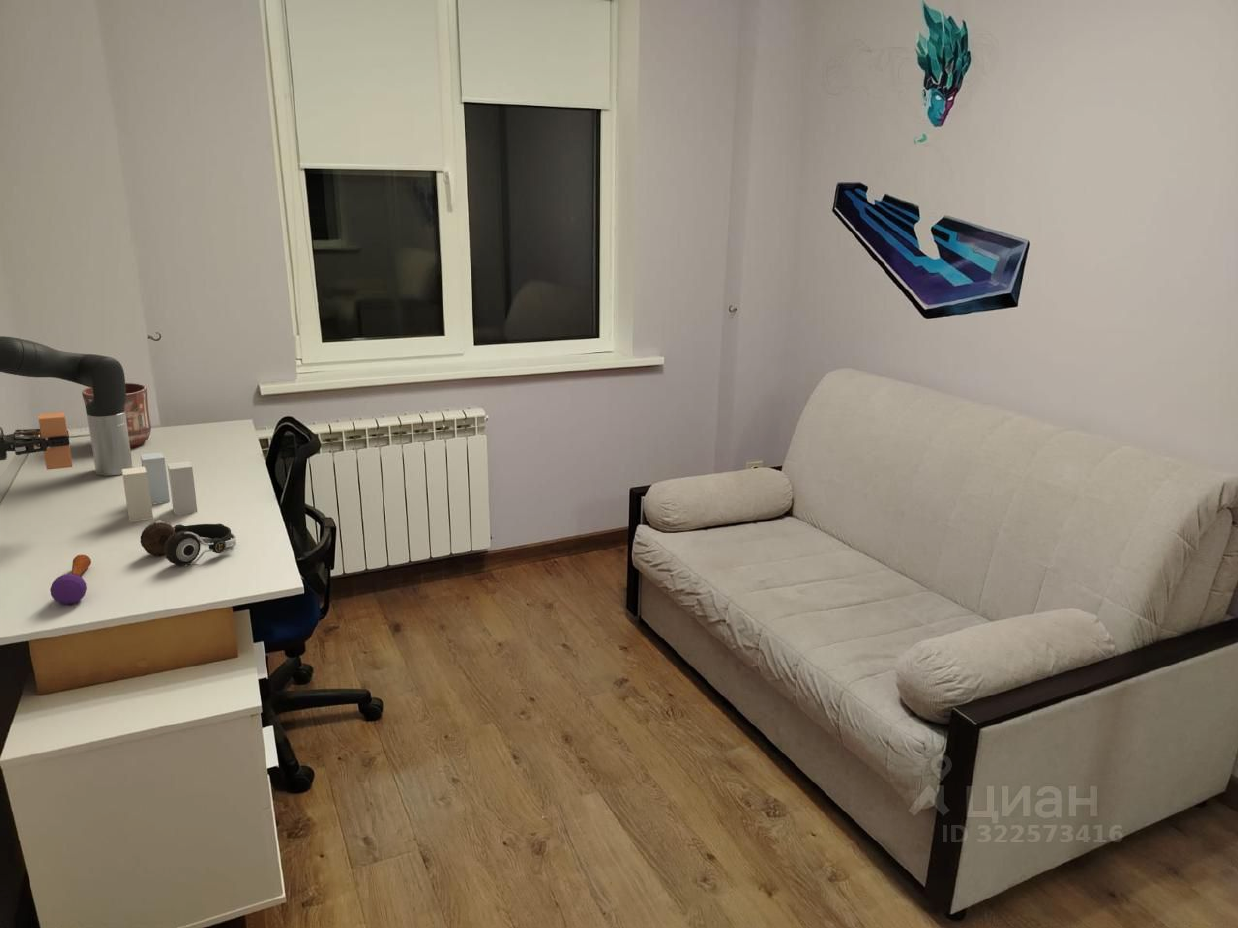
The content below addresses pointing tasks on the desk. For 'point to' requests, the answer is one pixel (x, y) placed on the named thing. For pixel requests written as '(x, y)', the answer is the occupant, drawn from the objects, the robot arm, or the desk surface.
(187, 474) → the grey block
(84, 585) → the purple maraca
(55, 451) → the rust block
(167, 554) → the headset
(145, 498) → the cream block
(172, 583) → the desk surface
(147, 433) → the pottery
